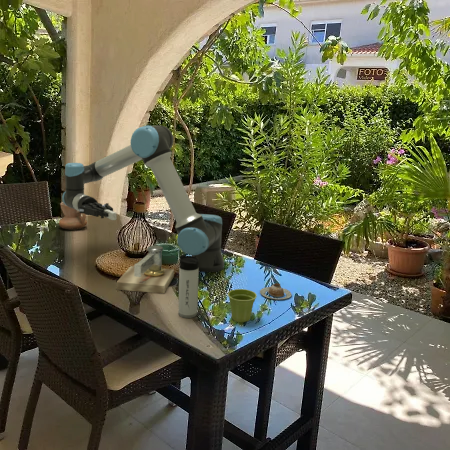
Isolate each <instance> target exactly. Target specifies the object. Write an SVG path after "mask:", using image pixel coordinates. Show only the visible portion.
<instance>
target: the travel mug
mask: <svg viewBox="0 0 450 450" xmlns="http://www.w3.org/2000/svg"><path fill="white" fill-rule="evenodd" d="M198 265H199V260H198V259H197V258H196V257H193V256H192V255H187V254H182V255H180V256H179V271H178V272H179V274H178V276H179V278H178V311H177V312H178V313H177V314H178V316H179V317H180V318H183V319H193V318H195V317H196V316H197V315H198V301H199V300H198V298H199V294H198V293H199V273H200V272H199V270H198V269H199V266H198Z"/></svg>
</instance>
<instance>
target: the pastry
mask: <svg viewBox="0 0 450 450" xmlns="http://www.w3.org/2000/svg"><path fill="white" fill-rule="evenodd" d="M266 293H268V295H270V296H271V297H270V296H268V295H267V294H266ZM259 294H260V295H261V296H262V297H265V298H267V299H271V300H288V299H289V298H291V297H292V296H293V295H292V292H291V291H290V290H288V289H286V288H285V287H281V283H277V282H275V283H273V284H272V285H271V286H266V287H264V288H261V289H260V290H259Z"/></svg>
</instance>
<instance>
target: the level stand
mask: <svg viewBox="0 0 450 450" xmlns="http://www.w3.org/2000/svg"><path fill="white" fill-rule="evenodd" d="M163 269H164V274H163V275H160V276H147V275H145V274H142V276H141V277H135V276H134V265H130V266H129V267H128V269H127V270H126V271H125V272H124V273H123V274H122V275H121V276H120V278H119V279H118V280H117V281H116V290H117V291H128V292H129V291H130V292H139V293H151V294H152V293H153V294H165V292H167V291H166V290H168V288H169V286H170V285H171V282H172V280H173V278H174V277H175V269H174V268H173V269H172V268H163Z"/></svg>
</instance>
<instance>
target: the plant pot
mask: <svg viewBox="0 0 450 450" xmlns="http://www.w3.org/2000/svg"><path fill="white" fill-rule="evenodd" d="M227 297H228V299H229V303H230V304H229V305H230V313H231V319H232V320H233V321H234V322H237V323H245V322H249V321H250V320H251V316H252V313H253V312H252V310H253V307H254V304H255V301H256V299H257V297H258V295H257V293H256V292H255V291H253V290H250V289H246V288H238V289H237V288H235V289H232V290H229V292H228V293H227Z"/></svg>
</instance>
